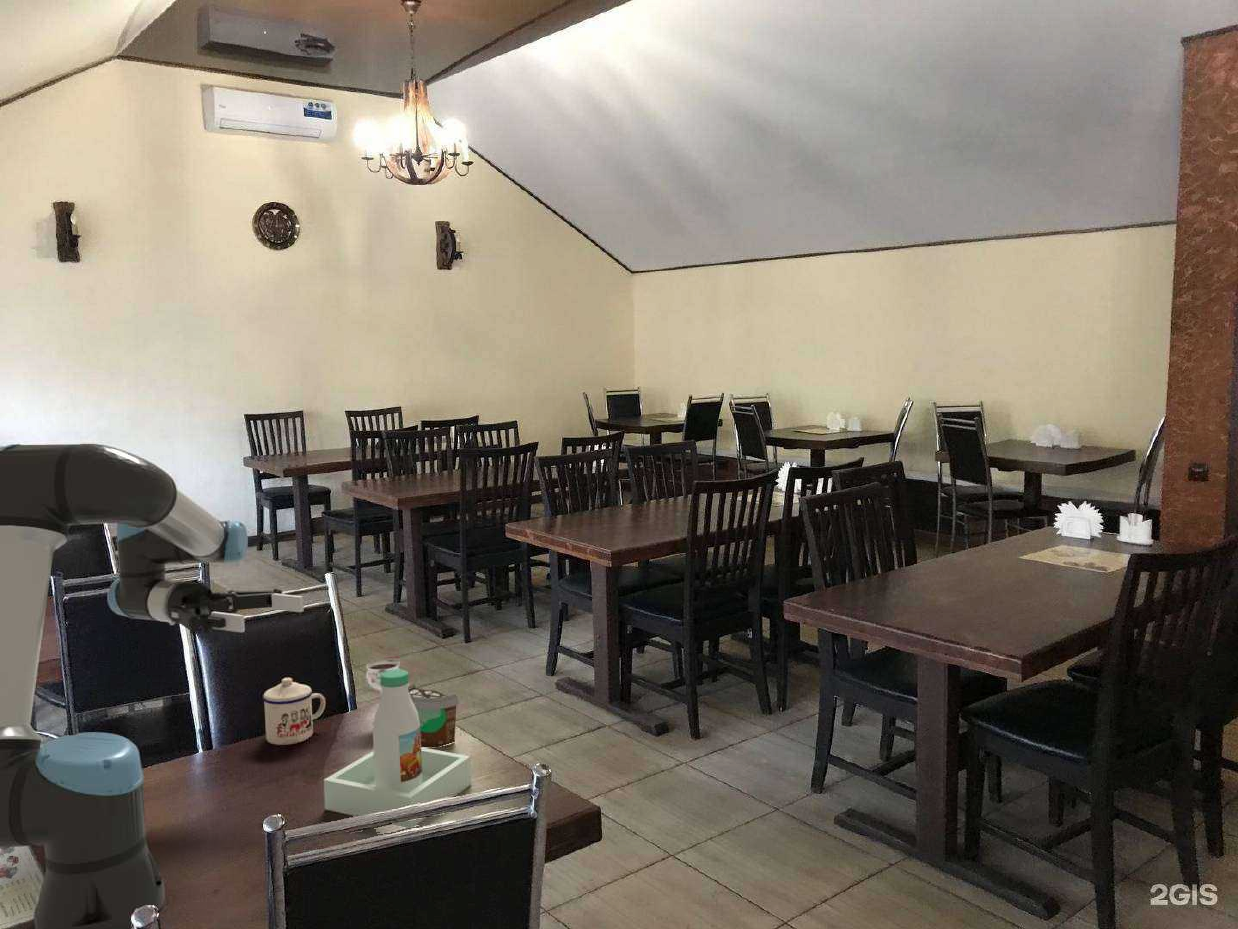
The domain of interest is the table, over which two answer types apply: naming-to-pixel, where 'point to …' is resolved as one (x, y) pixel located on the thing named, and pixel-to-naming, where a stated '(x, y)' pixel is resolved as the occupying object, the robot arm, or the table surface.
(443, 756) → the pale green tray
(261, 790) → the table surface
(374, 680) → the wineglass
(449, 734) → the food container
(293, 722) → the teacup with lid
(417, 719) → the milk bottle
